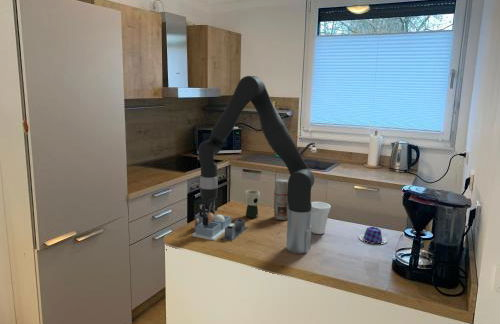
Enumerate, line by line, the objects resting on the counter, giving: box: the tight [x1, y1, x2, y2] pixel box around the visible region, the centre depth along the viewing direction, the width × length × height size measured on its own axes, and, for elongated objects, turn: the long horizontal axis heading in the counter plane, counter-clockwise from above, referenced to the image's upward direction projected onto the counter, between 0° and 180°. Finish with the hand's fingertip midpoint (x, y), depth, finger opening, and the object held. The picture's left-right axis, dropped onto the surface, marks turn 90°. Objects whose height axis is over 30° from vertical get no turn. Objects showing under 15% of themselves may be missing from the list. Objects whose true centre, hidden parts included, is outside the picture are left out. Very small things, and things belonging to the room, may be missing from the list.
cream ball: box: [214, 214, 225, 222], centre depth 183 cm, size 5×5×5 cm
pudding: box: [358, 226, 388, 245], centre depth 174 cm, size 12×12×5 cm
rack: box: [191, 213, 235, 241], centre depth 179 cm, size 11×20×4 cm, turn 157°
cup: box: [310, 201, 332, 235], centre depth 179 cm, size 10×10×13 cm
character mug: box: [244, 189, 261, 218], centre depth 197 cm, size 11×7×13 cm, turn 149°
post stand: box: [221, 218, 248, 242], centre depth 176 cm, size 5×16×5 cm, turn 157°
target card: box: [194, 209, 208, 233], centre depth 181 cm, size 1×13×8 cm, turn 157°
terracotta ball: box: [208, 212, 215, 223], centre depth 173 cm, size 5×5×5 cm
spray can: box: [273, 178, 289, 221], centre depth 196 cm, size 8×8×20 cm
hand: (208, 223), depth 174 cm, fingers closed on terracotta ball, 5 cm apart
